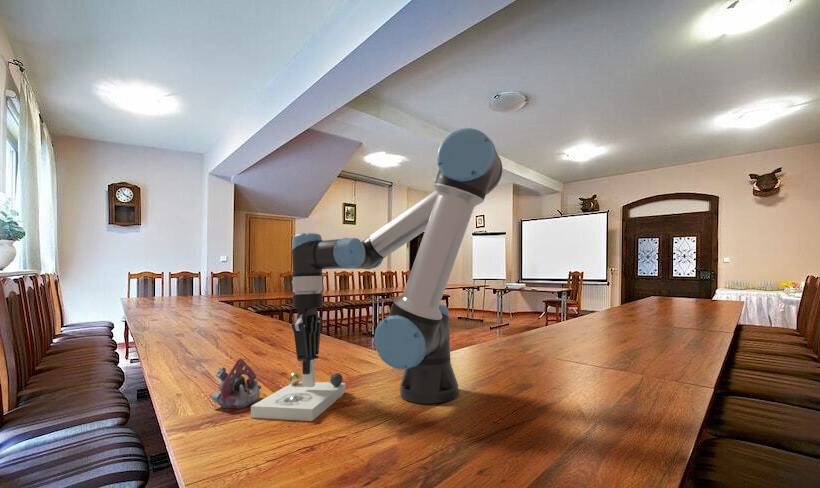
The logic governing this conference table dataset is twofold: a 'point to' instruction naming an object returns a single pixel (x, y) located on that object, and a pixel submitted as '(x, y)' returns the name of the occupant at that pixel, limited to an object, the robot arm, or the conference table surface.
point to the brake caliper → (236, 387)
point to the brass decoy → (294, 378)
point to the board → (304, 410)
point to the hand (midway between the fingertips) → (308, 386)
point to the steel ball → (294, 399)
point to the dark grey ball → (336, 379)
